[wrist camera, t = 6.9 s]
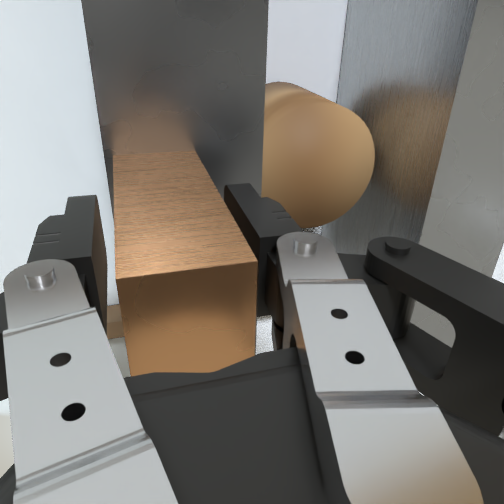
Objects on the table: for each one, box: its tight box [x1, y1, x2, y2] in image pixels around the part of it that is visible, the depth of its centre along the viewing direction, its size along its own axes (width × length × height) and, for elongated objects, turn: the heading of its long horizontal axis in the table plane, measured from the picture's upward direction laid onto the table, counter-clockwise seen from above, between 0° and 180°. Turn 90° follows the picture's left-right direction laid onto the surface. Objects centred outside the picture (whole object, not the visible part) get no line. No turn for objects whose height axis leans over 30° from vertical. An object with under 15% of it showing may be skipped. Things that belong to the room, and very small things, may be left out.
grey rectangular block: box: [322, 0, 504, 348], centre depth 19 cm, size 4×16×8 cm, turn 179°
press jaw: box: [81, 0, 269, 376], centre depth 14 cm, size 5×16×13 cm, turn 179°
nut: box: [261, 82, 375, 228], centre depth 19 cm, size 5×5×5 cm
